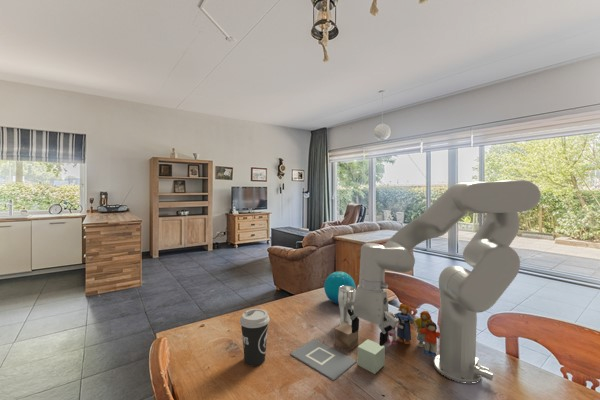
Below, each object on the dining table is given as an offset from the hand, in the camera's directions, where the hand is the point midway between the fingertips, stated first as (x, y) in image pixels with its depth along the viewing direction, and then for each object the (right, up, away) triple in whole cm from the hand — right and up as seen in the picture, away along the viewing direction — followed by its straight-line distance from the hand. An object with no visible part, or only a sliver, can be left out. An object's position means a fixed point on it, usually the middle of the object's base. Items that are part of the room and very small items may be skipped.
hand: (368, 337), depth 86 cm
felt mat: (-14, -8, +4) cm, 17 cm away
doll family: (+18, -9, +13) cm, 24 cm away
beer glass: (-2, -8, +26) cm, 27 cm away
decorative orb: (-2, -7, +48) cm, 48 cm away
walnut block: (-5, -8, +11) cm, 15 cm away
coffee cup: (-36, -9, +2) cm, 37 cm away
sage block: (+1, -9, 0) cm, 9 cm away
